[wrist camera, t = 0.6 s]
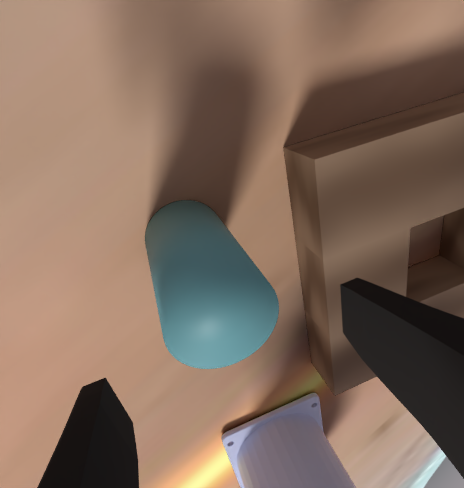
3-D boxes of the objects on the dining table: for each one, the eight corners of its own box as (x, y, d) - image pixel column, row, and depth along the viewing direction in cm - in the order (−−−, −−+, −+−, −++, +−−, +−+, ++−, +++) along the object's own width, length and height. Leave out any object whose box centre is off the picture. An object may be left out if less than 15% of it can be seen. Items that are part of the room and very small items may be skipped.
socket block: (485, 286, 27) (523, 308, 25) (311, 362, 24) (334, 395, 22) (531, 71, 19) (595, 70, 17) (283, 147, 16) (314, 159, 14)
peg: (229, 256, 18) (285, 342, 12) (159, 281, 18) (183, 384, 12) (212, 189, 16) (269, 252, 10) (133, 215, 16) (145, 297, 10)
